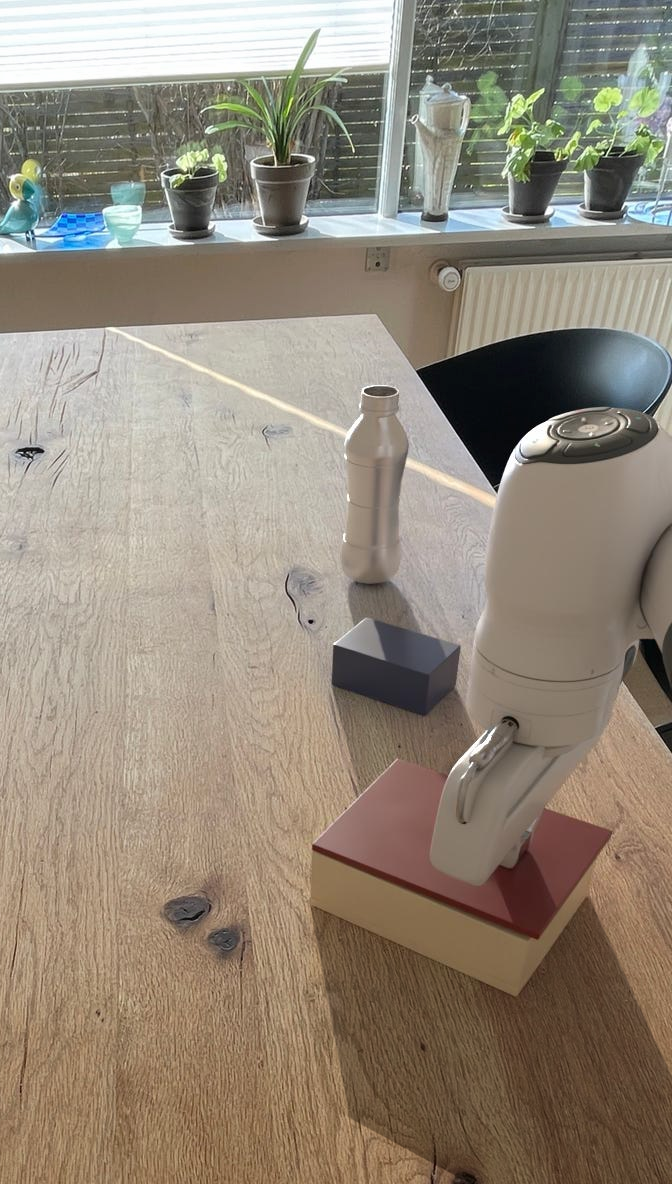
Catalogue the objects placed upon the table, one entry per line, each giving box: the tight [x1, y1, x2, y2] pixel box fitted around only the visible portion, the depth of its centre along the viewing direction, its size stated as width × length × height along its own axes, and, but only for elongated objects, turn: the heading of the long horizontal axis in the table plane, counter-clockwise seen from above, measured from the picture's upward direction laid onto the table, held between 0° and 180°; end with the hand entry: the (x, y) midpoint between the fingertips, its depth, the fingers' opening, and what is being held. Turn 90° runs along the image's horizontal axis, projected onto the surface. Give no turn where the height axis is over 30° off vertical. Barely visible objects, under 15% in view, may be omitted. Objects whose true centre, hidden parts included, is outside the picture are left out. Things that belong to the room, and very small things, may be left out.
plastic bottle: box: [339, 384, 410, 585], centre depth 118 cm, size 6×7×20 cm
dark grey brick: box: [331, 616, 462, 717], centre depth 106 cm, size 10×6×4 cm, turn 53°
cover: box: [311, 758, 613, 940], centre depth 81 cm, size 17×13×1 cm
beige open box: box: [309, 850, 598, 998], centre depth 83 cm, size 17×13×5 cm
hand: (510, 854), depth 79 cm, fingers closed, pressing on cover
